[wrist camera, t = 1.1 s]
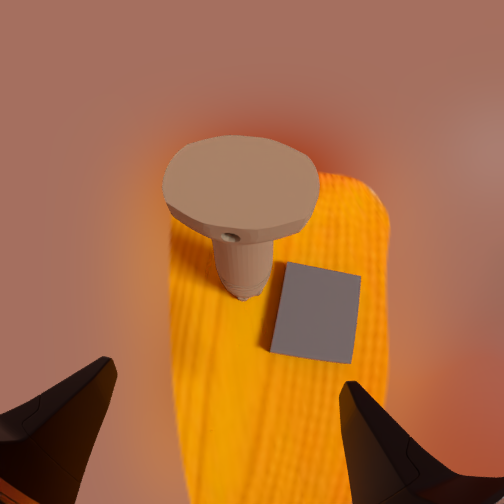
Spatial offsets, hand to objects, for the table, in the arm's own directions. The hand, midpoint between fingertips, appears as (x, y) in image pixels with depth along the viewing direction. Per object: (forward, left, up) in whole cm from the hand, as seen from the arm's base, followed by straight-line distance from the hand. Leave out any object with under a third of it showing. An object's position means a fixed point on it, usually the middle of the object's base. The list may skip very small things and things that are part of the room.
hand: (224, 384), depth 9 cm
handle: (+8, +1, -14) cm, 16 cm away
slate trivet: (+6, -6, -13) cm, 16 cm away
